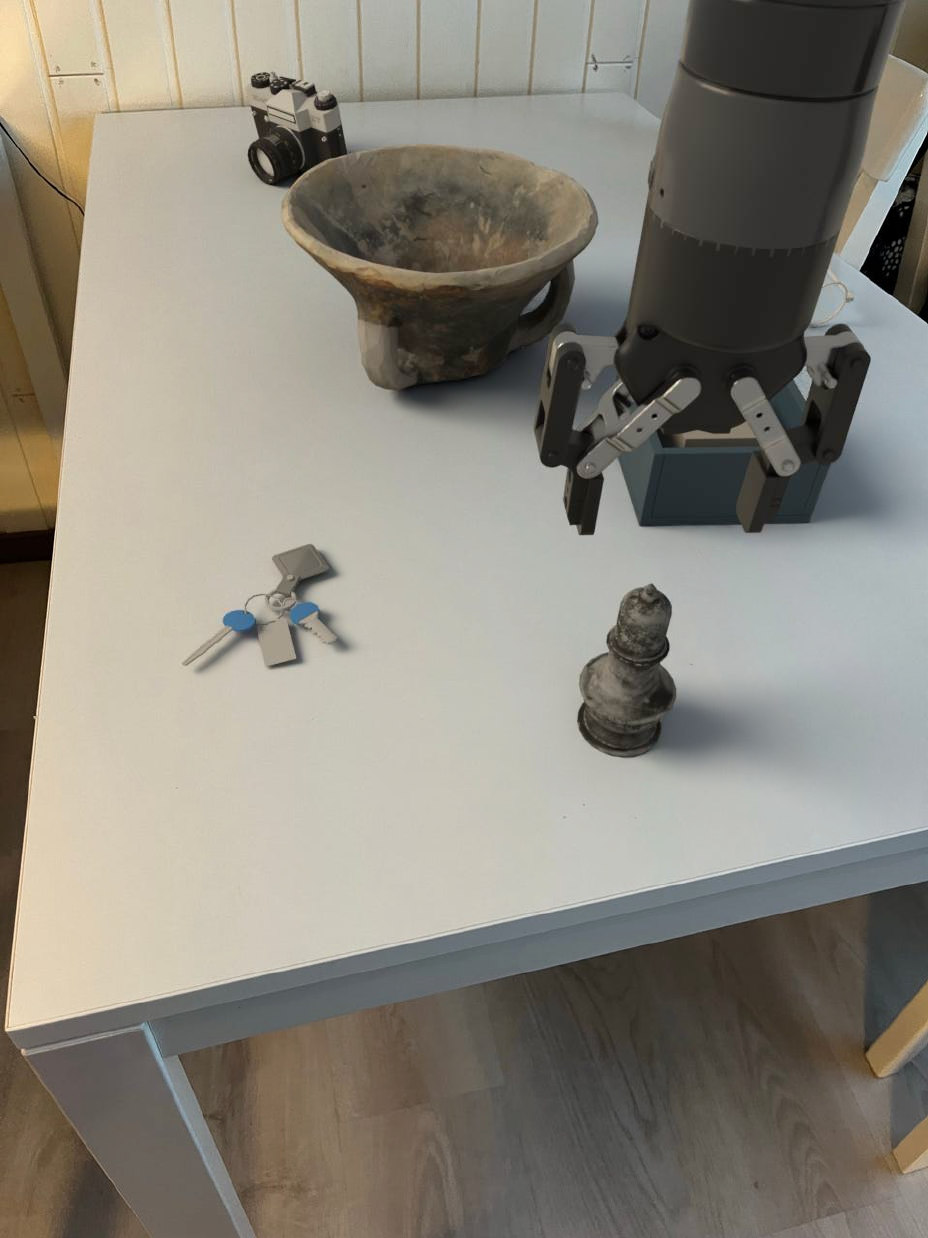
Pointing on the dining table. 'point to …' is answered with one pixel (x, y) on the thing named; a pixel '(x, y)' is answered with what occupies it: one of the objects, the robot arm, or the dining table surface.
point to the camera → (292, 126)
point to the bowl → (442, 253)
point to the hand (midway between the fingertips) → (666, 524)
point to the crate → (713, 477)
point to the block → (710, 438)
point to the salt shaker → (629, 678)
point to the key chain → (280, 610)
